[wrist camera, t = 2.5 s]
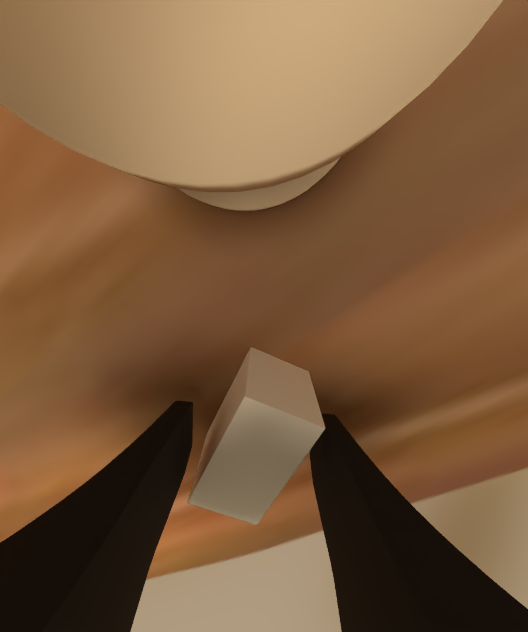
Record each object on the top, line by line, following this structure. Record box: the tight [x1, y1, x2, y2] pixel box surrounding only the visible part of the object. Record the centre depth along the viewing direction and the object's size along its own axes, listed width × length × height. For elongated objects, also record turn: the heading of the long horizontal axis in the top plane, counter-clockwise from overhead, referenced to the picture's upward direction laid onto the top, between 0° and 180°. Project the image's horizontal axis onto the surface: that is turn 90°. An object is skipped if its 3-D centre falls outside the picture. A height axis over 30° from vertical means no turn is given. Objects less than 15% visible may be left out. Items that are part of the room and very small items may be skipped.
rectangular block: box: [187, 347, 325, 525], centre depth 9 cm, size 3×5×3 cm, turn 155°
